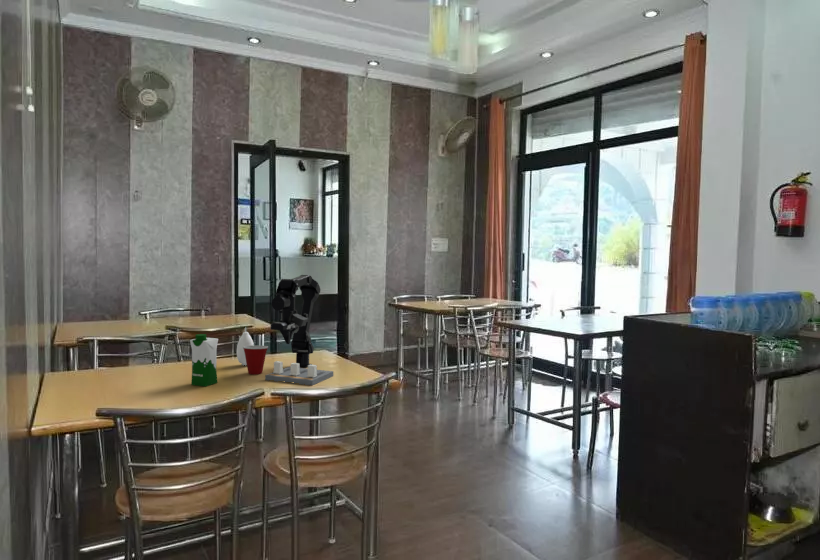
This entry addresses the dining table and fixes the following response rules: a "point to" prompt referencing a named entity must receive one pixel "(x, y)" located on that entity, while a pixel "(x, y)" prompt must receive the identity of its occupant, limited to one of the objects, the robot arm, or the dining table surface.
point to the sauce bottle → (243, 341)
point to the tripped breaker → (278, 367)
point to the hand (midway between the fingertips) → (288, 343)
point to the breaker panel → (300, 376)
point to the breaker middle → (295, 369)
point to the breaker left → (312, 371)
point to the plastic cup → (255, 358)
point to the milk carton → (204, 360)
